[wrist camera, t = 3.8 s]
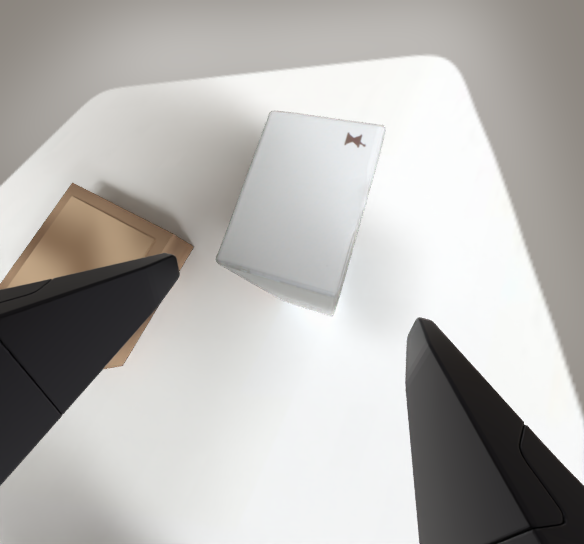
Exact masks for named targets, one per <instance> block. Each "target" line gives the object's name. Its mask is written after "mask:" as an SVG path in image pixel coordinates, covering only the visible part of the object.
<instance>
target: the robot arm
mask: <svg viewBox="0 0 584 544" xmlns="http://www.w3.org/2000/svg"><path fill="white" fill-rule="evenodd" d="M179 274H180V272H179V267H178V262H177V258H176V256H175V255H172V254H168V253H162V254H157V255H153V256H148V257H144V258H140V259H135V260H131V261H126V262H122V263H118V264H113V265H109V266H105V267H100V268H96V269H91V270H87V271H83V272H78V273H74V274H70V275H65V276H61V277H56V278H53V279H47V280H43V281H39V282H34V283H30V284H25V285H20V286H16V287H11V288H6V289H1V290H0V486H1V484H2V483H3V482H4V481H5V480H6V479H7V478H8V477H9V475H10V474H11V473H12V472H13V471H14V470H15V469H16V467H17V466H18V465H19V464H20V463H21V462H22V461H23V460H24V458H25V457H26V456H27V455H28V454H29V453H30V452H31V450H32V449H33V448H34V447H35V446H36V445H37V444H38V443H39V441H40V440H41V439H42V438H43V437H44V436H45V435H46V433H47V432H48V431H49V430H50V429H51V428H52V427H53V425H54V424H55V423H56V422H57V421H58V420H59V419H60V418H61V416H62V414H64V413H65V412H66V410H67V409H68V408H69V407H70V406H71V405H72V404H73V403H74V401H75V400H76V399H77V398H78V397H79V396H80V395H81V393H82V392H83V391H84V390H85V389H86V388H87V387H88V386H89V384H90V383H91V382H92V381H93V380H94V379H95V378H96V376H97V375H98V374H99V373H100V372H101V371H102V370H103V369H104V367H105V366H106V365H107V364H108V363H109V362H110V361H111V360H112V358H113V357H114V356H115V355H116V354H117V353H118V352H119V350H120V349H121V348H122V347H123V346H124V345H125V344H126V343H127V341H128V340H129V339H130V338H131V337H132V336H133V335H134V333H135V332H136V331H137V330H138V329H139V328H140V327H141V326H142V324H143V323H144V322H145V321H146V320H147V319H148V318H149V316H150V315H151V314H152V313H153V312H154V311H155V310H156V308H157V307H158V306H159V304H160V303H161V302H162V300H163V299H164V298H165V296H166V295H167V293H168V292H169V291H170V289H171V288H172V286H173V285H174V284H175V282H176V281H177V279H178V278H179ZM405 384H406V398H407V409H408V420H409V432H410V443H411V454H412V465H413V476H414V487H415V499H416V510H417V521H418V532H419V543H420V544H584V485H583V484H582V483H581V482H580V481H579V480H578V479H577V478H576V477H575V476H574V475H573V474H572V473H571V472H570V471H569V470H568V469H567V468H566V467H565V466H564V465H563V464H562V463H561V462H560V461H559V460H558V459H557V457H556V456H555V455H554V454H553V453H552V452H551V451H550V450H549V449H548V448H547V447H546V446H545V445H544V444H543V442H542V441H541V440H540V439H539V438H538V437H537V436H536V435H535V434H534V433H533V431H532V430H531V429H530V428H529V427H528V426H527V425H524V422H523V421H522V419H521V418H520V417H519V416H518V415H517V414H516V413H515V412H514V411H513V410H512V408H511V407H510V406H509V405H508V404H507V403H506V402H505V401H504V400H503V398H502V397H501V396H500V395H499V394H498V393H497V392H496V391H495V390H494V389H493V387H492V386H491V385H490V384H489V383H488V382H487V381H486V380H485V379H484V377H483V376H482V375H481V374H480V373H479V372H478V371H477V370H476V369H475V368H474V366H473V365H472V364H471V363H470V362H469V361H468V360H467V359H466V358H465V356H464V355H463V354H462V353H461V352H460V351H459V350H458V349H457V348H456V346H455V345H454V344H453V343H452V342H451V341H450V340H449V339H448V338H447V337H446V335H445V334H444V333H443V332H442V331H441V330H440V329H439V328H438V327H437V325H436V324H435V323H434V322H433V321H431V320H428V319H424V318H420V317H419V318H417V319H416V321H415V323H414V325H413V326H412V328H411V330H410V332H409V334H408V337H407V350H406V379H405Z"/></svg>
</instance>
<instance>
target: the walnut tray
mask: <svg viewBox="0 0 584 544" xmlns="http://www.w3.org/2000/svg"><path fill="white" fill-rule="evenodd" d="M193 248H194V247H193V246H192V245H190V244H189V243H187V242H185V241H184V240H182V239H181V238H179V237H178V236H176V235H174V234H173V233H171V232H169V231H167V230H165V229H163V228H161V227H159V226H157V225H155V224H153V223H151V222H149V221H147V220H145V219H143V218H141V217H139V216H137V215H135V214H133V213H131V212H129V211H127V210H125V209H123V208H121V207H119V206H117V205H115V204H113V203H112V202H110V201H108V200H106V199H104V198H102V197H100V196H98V195H96V194H94V193H92V192H90V191H88V190H86V189H84V188H82V187H80V186H78V185H76V184H74V183H72V184H71V185H70V187H69V188H68V190H67V191H66V192H65V194H64V195H63V197H62V198H61V199H60V201H59V202H58V204H57V205H56V206H55V208H54V209H53V211H52V212H51V214H50V215H49V216H48V218H47V219H46V221H45V222H44V223H43V225H42V226H41V228H40V229H39V230H38V232H37V233H36V235H35V236H34V237H33V239H32V240H31V242H30V243H29V244H28V246H27V247H26V249H25V250H24V251H23V253H22V254H21V256H20V257H19V258H18V260H17V261H16V263H15V264H14V265H13V267H12V268H11V270H10V271H9V273H8V274H7V275H6V277H5V278H4V280H3V281H2V282H1V284H0V290H1V289H6V288H11V287H16V286H20V285H25V284H30V283H34V282H39V281H43V280H47V279H53V278H56V277H61V276H65V275H70V274H74V273H78V272H83V271H87V270H91V269H96V268H100V267H105V266H109V265H113V264H118V263H122V262H126V261H131V260H135V259H140V258H144V257H148V256H153V255H157V254H162V253H168V254H172V255H175V256H176V258H177V262H178V267H179V271H180V269H181V268H182V266H183V264H184V263H185V261H186V259H187V258H188V256H189V254H190V253H191V251H192V249H193ZM157 308H158V307H157ZM157 308H156V309H157ZM155 311H156V310H155ZM155 311H154V312H153V313H152V314H151V315H150V316H149V318H148V319H147V320H146V321H145V322H144V323H143V324H142V326H141V327H140V328H139V329H138V330H137V331H136V332H135V333H134V335H133V336H132V337H131V338H130V339H129V340H128V341H127V343H126V344H125V345H124V346H123V347H122V348H121V349H120V350H119V352H118V353H117V354H116V355H115V356H114V357H113V358H112V360H111V361H110V362H109V363H108V364H107V365H106V366H105V367H104V369H107V368H113V367H119V366H123V364H124V363H125V361H126V359H127V358H128V356H129V354H130V353H131V351H132V349H133V348H134V346H135V344H136V343H137V341H138V339H139V338H140V336H141V334H142V333H143V331H144V329H145V328H146V326H147V324H148V323H149V321H150V319H151V318H152V316H153V314H154V313H155Z"/></svg>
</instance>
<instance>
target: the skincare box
mask: <svg viewBox="0 0 584 544" xmlns="http://www.w3.org/2000/svg"><path fill="white" fill-rule="evenodd" d="M384 135H385V127H384V126H383V125H378V124H370V123H362V122H355V121H348V120H340V119H333V118H327V117H321V116H313V115H306V114H300V113H292V112H283V111H271V112H270V113H269V116H268V119H267V122H266V124H265V127H264V129H263V132H262V135H261V138H260V140H259V143H258V146H257V148H256V151H255V154H254V157H253V159H252V162H251V165H250V168H249V170H248V173H247V176H246V179H245V182H244V184H243V187H242V190H241V193H240V196H239V198H238V201H237V204H236V207H235V209H234V212H233V215H232V218H231V220H230V223H229V226H228V229H227V231H226V234H225V237H224V239H223V242H222V244H221V247H220V250H219V252H218V254H217V257H216V261H217V263H218V264H220V265H221V266H223V267H225V268H227V269H228V270H230V271H232V272H234V273H235V274H237V275H239V276H241V277H242V278H244V279H246V280H247V281H249V282H251V283H253V284H254V285H256V286H258V287H260V288H261V289H263V290H265V291H266V292H268V293H270V294H272V295H273V296H275V297H277V298H278V299H280V300H282V301H284V302H287V303H291V304H294V305H297V306H300V307H303V308H306V309H309V310H312V311H315V312H319V313H322V314H325V315H328V316H333V315H334V312H335V309H336V306H337V303H338V300H339V297H340V293H341V290H342V286H343V283H344V279H345V275H346V272H347V268H348V265H349V261H350V258H351V254H352V251H353V247H354V244H355V240H356V237H357V233H358V229H359V226H360V222H361V219H362V215H363V212H364V209H365V206H366V203H367V199H368V194H369V191H370V188H371V184H372V181H373V177H374V174H375V170H376V166H377V163H378V159H379V155H380V151H381V148H382V144H383V140H384Z"/></svg>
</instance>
